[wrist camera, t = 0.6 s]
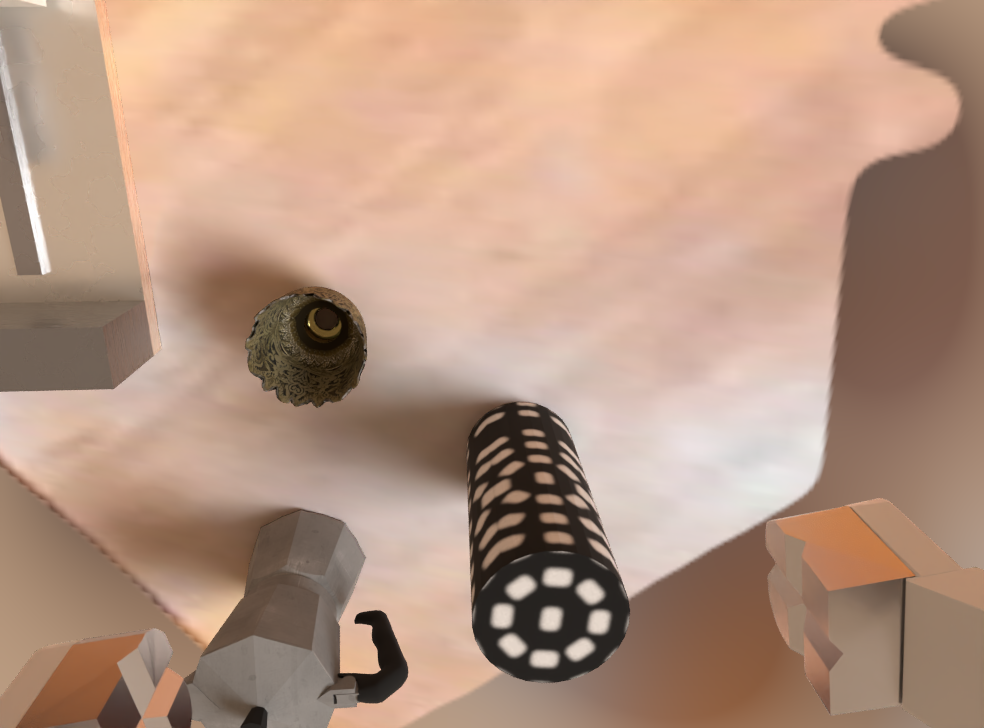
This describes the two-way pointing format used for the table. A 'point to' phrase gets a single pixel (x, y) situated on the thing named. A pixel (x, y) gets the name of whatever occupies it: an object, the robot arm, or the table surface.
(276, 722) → the coffeepot
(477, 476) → the spotted tube
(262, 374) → the cup
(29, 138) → the gauge base
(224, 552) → the table surface
